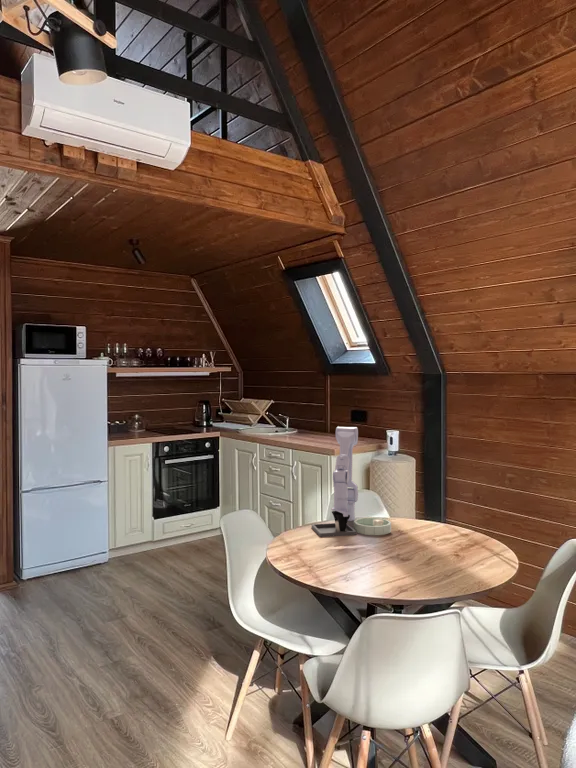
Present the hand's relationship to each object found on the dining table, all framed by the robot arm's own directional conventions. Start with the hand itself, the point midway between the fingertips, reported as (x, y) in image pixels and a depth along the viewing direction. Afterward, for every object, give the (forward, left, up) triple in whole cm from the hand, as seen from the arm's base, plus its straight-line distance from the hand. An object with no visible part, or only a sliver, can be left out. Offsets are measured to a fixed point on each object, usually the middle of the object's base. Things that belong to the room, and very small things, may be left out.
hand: (340, 529), depth 247 cm
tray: (0, -3, -2) cm, 4 cm away
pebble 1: (0, 0, -1) cm, 1 cm away
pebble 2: (+2, +16, -1) cm, 17 cm away
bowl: (+2, +14, -2) cm, 14 cm away
